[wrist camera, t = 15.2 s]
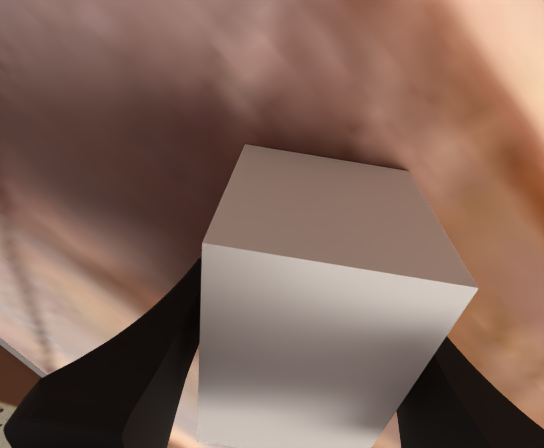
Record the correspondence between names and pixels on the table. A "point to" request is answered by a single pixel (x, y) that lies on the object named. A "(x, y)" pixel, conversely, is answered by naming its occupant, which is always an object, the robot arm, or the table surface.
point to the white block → (319, 301)
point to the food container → (14, 383)
